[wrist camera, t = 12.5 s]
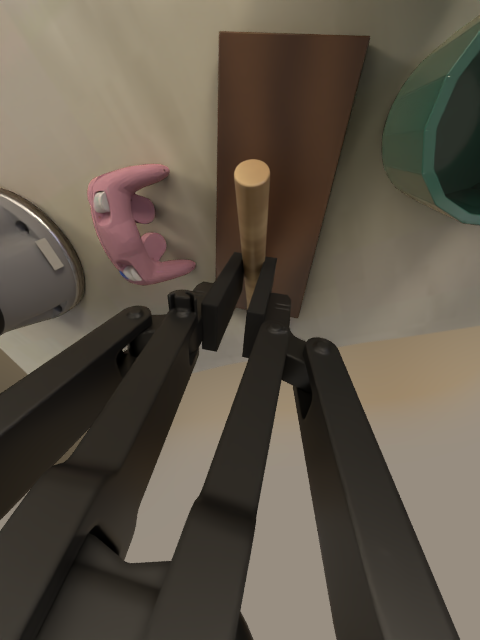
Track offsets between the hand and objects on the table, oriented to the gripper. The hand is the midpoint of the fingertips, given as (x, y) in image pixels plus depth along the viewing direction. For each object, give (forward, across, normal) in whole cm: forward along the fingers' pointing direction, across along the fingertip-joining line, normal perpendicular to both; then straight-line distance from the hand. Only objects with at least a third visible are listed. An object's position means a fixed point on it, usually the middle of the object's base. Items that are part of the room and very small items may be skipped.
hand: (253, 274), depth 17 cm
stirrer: (+1, 0, -1) cm, 1 cm away
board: (+8, 0, +2) cm, 8 cm away
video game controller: (+8, -11, 0) cm, 13 cm away
